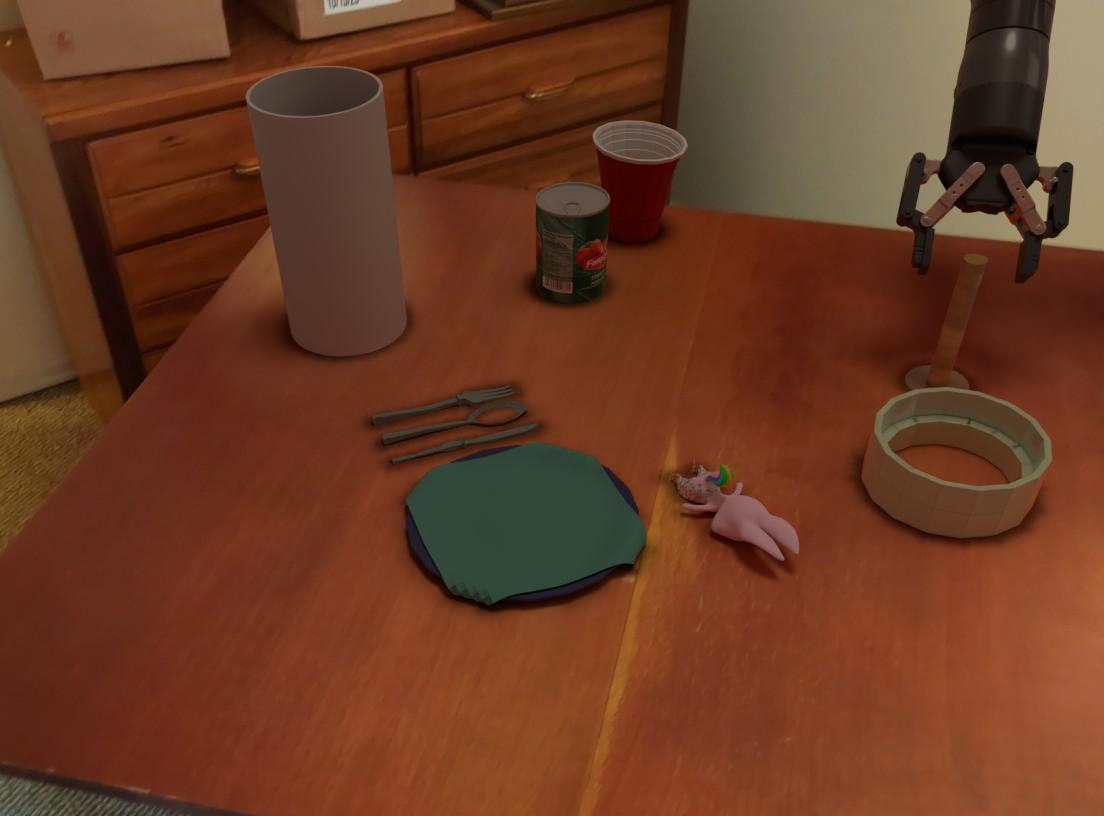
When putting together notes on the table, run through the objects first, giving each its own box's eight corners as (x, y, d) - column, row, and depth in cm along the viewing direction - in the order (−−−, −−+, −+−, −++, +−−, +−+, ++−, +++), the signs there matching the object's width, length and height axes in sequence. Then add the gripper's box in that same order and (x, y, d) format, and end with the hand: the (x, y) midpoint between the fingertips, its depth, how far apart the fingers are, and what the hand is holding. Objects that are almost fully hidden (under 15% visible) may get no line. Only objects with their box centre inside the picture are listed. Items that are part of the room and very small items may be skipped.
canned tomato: (536, 274, 122) (535, 181, 115) (604, 274, 122) (609, 180, 114) (535, 311, 117) (534, 215, 109) (606, 310, 117) (611, 214, 109)
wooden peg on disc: (918, 366, 107) (957, 236, 97) (976, 387, 105) (1022, 255, 95) (892, 393, 104) (929, 262, 94) (951, 416, 102) (995, 282, 92)
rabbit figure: (652, 505, 96) (758, 587, 85) (651, 447, 92) (761, 525, 81) (709, 483, 98) (820, 561, 86) (710, 425, 94) (825, 499, 83)
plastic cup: (676, 261, 124) (686, 158, 115) (584, 256, 125) (587, 154, 117) (680, 217, 131) (690, 118, 123) (593, 213, 133) (596, 115, 124)
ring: (903, 422, 101) (919, 369, 97) (1053, 482, 94) (1077, 427, 90) (831, 498, 94) (845, 444, 89) (988, 568, 87) (1011, 513, 83)
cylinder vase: (391, 367, 110) (362, 120, 92) (276, 358, 112) (225, 114, 94) (419, 305, 118) (397, 68, 101) (312, 297, 120) (272, 63, 102)
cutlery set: (450, 643, 83) (448, 623, 81) (352, 429, 103) (348, 410, 101) (679, 576, 87) (681, 556, 86) (542, 384, 107) (542, 364, 105)
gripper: (925, 73, 93) (898, 257, 94) (1098, 82, 91) (1070, 271, 91) (908, 112, 101) (883, 282, 101) (1068, 121, 98) (1042, 295, 99)
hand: (971, 277), depth 96 cm, fingers open, 8 cm apart
